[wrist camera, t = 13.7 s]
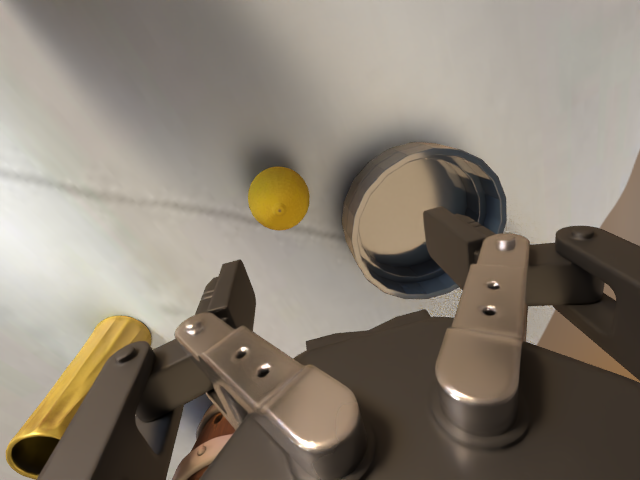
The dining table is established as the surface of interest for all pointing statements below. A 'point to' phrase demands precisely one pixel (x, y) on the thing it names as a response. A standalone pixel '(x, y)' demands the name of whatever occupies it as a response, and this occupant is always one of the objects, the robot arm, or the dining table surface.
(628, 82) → the dining table surface
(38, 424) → the vase
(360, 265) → the bowl
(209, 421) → the flowerpot
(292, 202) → the lemon
